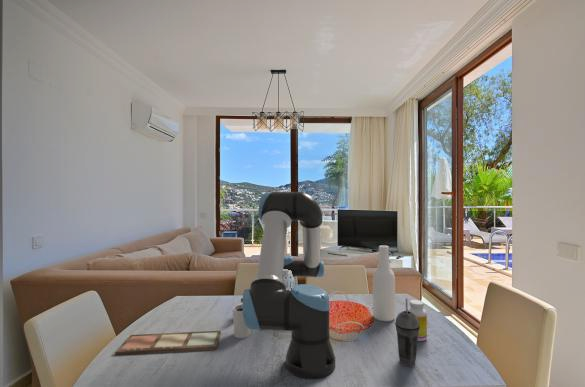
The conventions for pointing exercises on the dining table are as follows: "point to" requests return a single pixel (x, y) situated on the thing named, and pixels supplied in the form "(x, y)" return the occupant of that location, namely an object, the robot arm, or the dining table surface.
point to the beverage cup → (407, 336)
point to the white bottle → (383, 288)
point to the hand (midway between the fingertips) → (251, 311)
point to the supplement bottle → (419, 318)
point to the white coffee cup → (239, 323)
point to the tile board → (170, 342)
